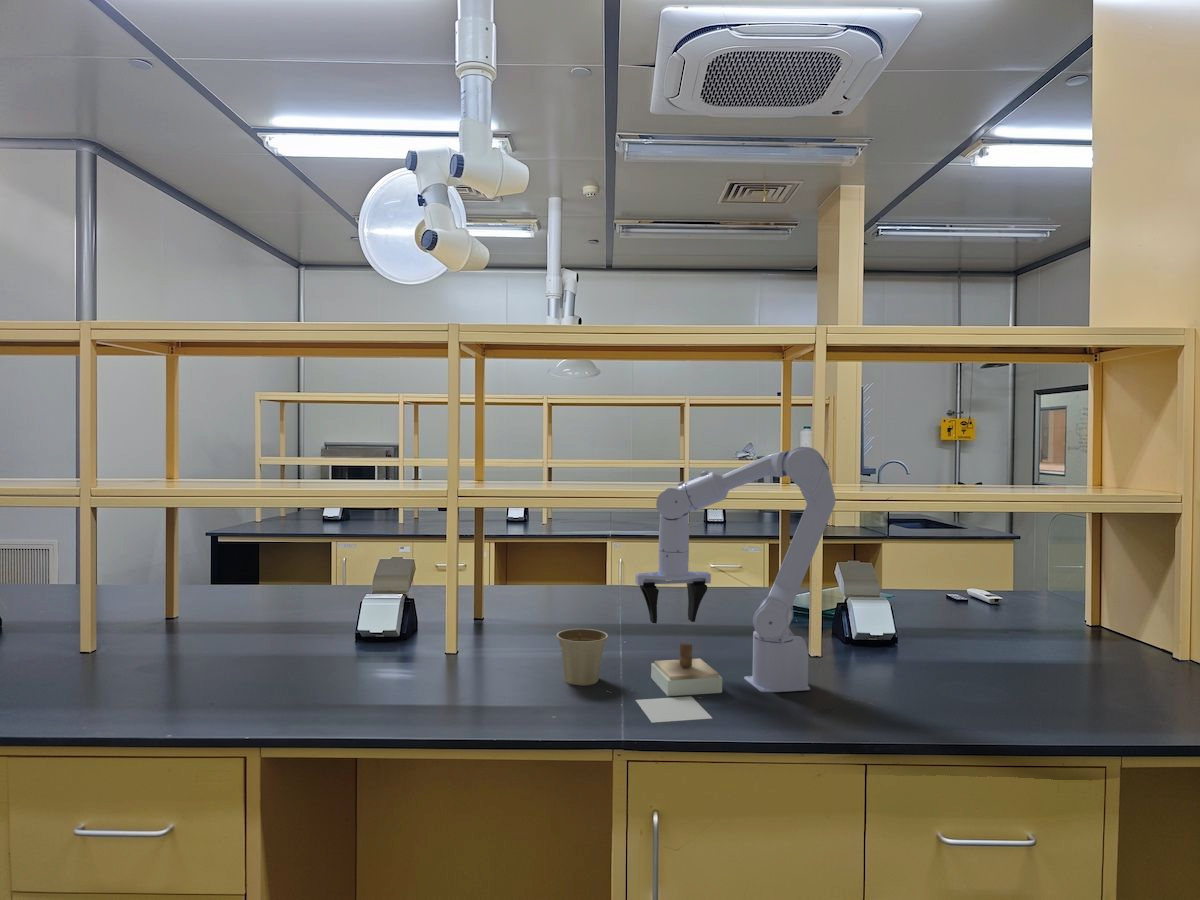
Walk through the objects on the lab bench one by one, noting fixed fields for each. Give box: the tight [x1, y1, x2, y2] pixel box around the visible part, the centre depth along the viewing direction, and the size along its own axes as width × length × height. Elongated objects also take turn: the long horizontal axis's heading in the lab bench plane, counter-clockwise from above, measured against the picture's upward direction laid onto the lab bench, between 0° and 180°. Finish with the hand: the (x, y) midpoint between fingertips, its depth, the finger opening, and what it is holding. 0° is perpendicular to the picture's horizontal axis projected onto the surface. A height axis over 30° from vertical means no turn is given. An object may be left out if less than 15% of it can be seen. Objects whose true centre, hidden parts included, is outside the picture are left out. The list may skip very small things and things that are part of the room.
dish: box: [650, 662, 723, 697], centre depth 128 cm, size 10×10×3 cm
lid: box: [653, 642, 720, 680], centre depth 128 cm, size 9×9×5 cm
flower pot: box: [556, 628, 609, 686], centre depth 130 cm, size 9×9×9 cm
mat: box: [635, 695, 713, 724], centre depth 116 cm, size 10×10×1 cm
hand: (672, 621), depth 136 cm, fingers open, 7 cm apart
